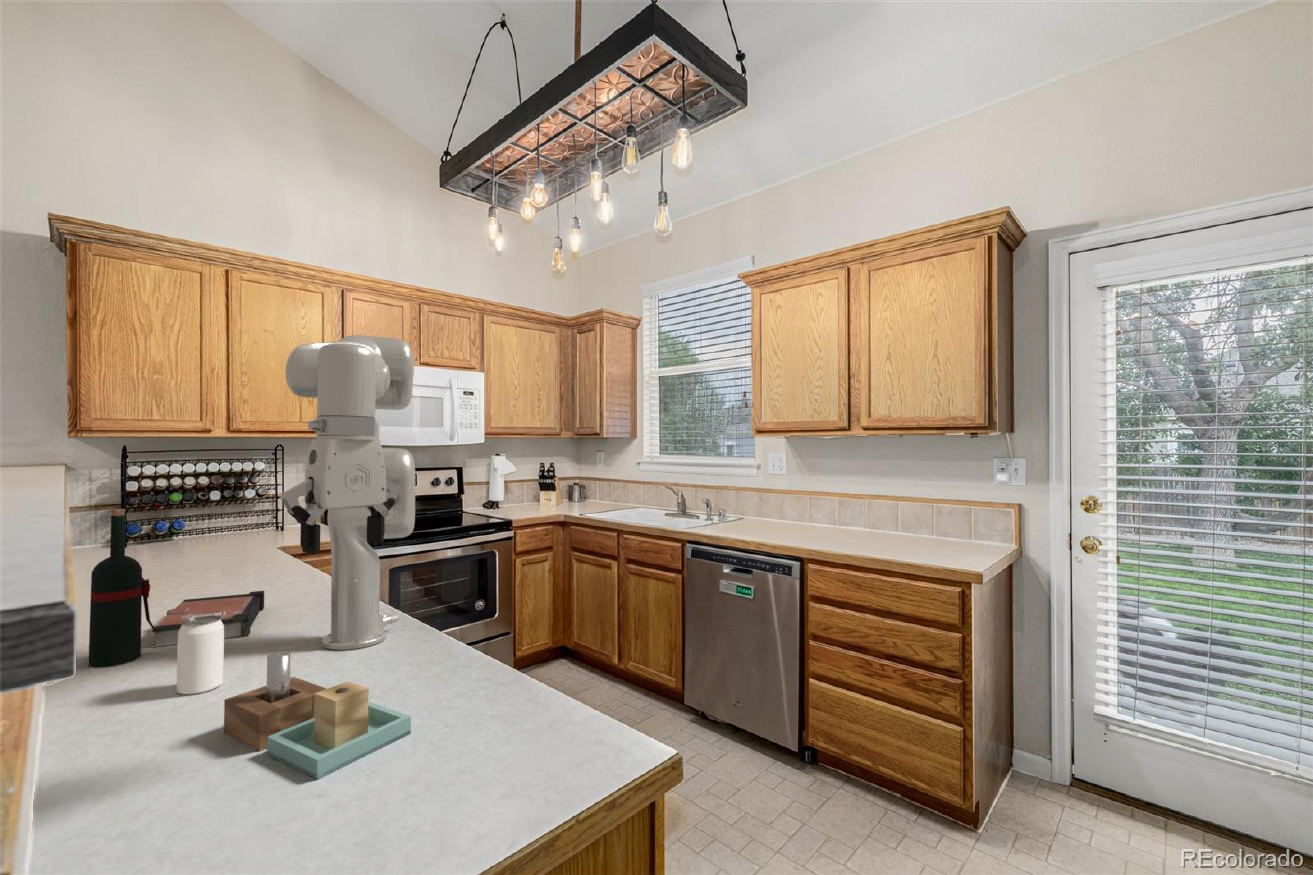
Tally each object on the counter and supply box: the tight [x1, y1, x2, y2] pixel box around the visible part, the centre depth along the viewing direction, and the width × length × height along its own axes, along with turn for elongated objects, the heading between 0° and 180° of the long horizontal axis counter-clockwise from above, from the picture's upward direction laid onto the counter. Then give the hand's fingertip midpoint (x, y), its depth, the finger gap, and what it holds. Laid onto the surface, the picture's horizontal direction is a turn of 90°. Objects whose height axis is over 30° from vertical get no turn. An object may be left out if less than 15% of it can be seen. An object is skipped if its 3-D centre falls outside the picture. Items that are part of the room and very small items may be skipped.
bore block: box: [223, 676, 328, 752], centre depth 88 cm, size 10×10×5 cm
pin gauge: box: [266, 651, 292, 703], centre depth 89 cm, size 3×3×10 cm
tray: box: [266, 700, 412, 780], centre depth 84 cm, size 14×12×2 cm
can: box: [176, 616, 225, 696], centre depth 103 cm, size 6×6×12 cm
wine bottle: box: [87, 508, 156, 669], centre depth 117 cm, size 8×10×30 cm
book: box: [151, 590, 265, 649], centre depth 138 cm, size 26×18×5 cm
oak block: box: [314, 681, 370, 750], centre depth 84 cm, size 5×5×7 cm
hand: (344, 547), depth 84 cm, fingers open, 9 cm apart
